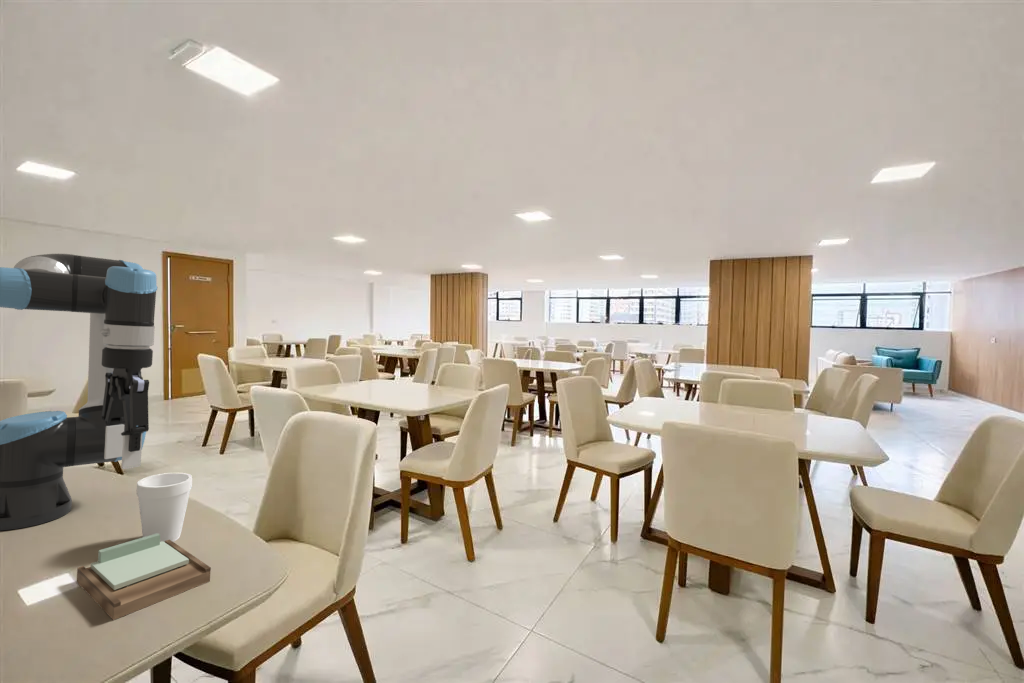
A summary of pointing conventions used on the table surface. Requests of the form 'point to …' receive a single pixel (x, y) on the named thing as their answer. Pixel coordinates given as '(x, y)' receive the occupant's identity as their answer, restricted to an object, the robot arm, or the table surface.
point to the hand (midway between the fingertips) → (122, 462)
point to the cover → (136, 561)
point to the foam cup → (163, 504)
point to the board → (144, 586)
